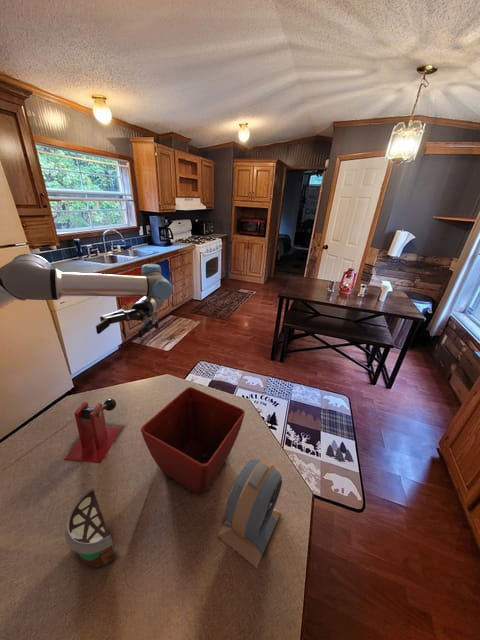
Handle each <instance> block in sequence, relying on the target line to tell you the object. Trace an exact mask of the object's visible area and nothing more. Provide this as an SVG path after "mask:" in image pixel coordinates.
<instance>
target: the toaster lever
mask: <svg viewBox="0 0 480 640" xmlns="http://www.w3.org/2000/svg"><path fill="white" fill-rule="evenodd" d="M102 406H103V411H107V412H112V411H113V410H115V409H116V407H117V401H116V400H115V399H114V398H109V399H107V400H105V401H104V402H103V404H102ZM94 408H95V407H92V406H91V407H90V406H89V408H86V409H83V414H82V419H90V415H89V414H90V413H91V412H92V411H93V409H94Z"/></svg>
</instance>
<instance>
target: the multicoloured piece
mask: <svg viewBox="0 0 480 640" xmlns="http://www.w3.org/2000/svg"><path fill="white" fill-rule="evenodd" d="M65 540H66V543H67V545H68V546H69V548H70V549H71V550H72V551H74V552H76V553H77V554H78V556H79V558H80V560H81V561H82V563H83V564H84V565H85V566H86V567H89V568H90V569H91V568H92V569H99V568H103V567H106V566H108V565H110V564H111V563H113V562H114V561H116V558H115V557H116V556H115V552H114V546H113V544H114V543H113V539H112V536H111V534H110V532H109V530H108V528H107V525H106V522H105V519H104V516H103V513H102V511H101V508H100V505H99V502H98V499H97V496H96V492H95V487H94V486H92V487H90V488H89V489H87V490H86V491H85V492H83V494H81V495H80V496H79V498H77V500H75V502H74V504H73V506H72V508H71V509H70V511H69V513H68V516H67V519H66V524H65Z"/></svg>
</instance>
